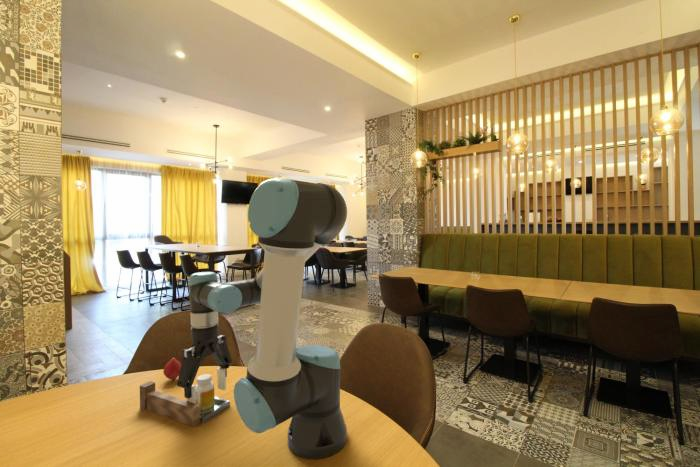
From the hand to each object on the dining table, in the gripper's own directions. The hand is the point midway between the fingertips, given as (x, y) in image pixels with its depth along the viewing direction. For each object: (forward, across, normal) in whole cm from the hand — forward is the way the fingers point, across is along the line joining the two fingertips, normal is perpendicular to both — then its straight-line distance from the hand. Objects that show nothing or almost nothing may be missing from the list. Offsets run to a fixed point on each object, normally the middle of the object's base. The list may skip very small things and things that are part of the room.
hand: (207, 397), depth 98 cm
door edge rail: (+3, +7, -7) cm, 10 cm away
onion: (+4, -8, -26) cm, 28 cm away
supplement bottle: (+3, +1, 0) cm, 3 cm away
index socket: (+3, +1, 0) cm, 3 cm away
